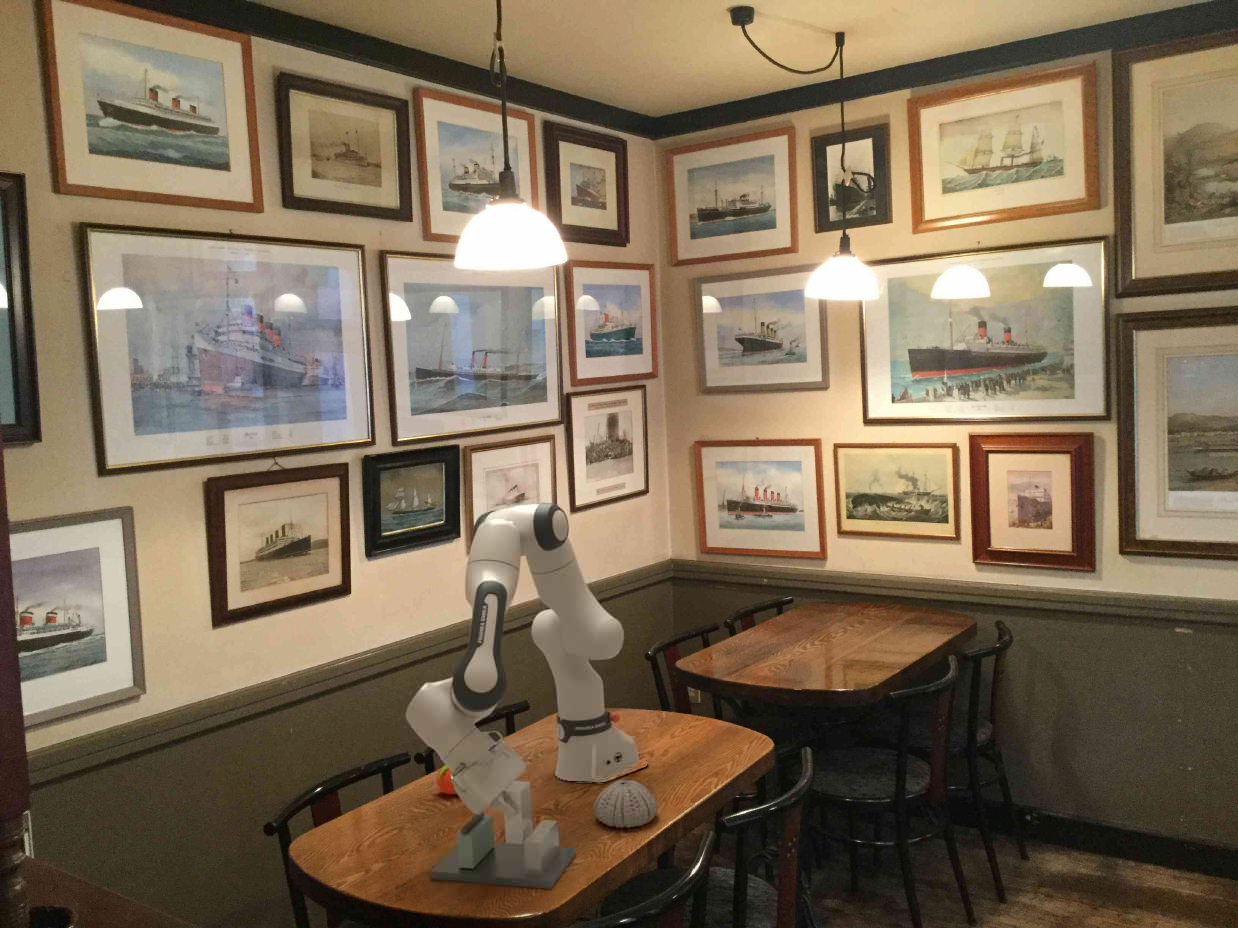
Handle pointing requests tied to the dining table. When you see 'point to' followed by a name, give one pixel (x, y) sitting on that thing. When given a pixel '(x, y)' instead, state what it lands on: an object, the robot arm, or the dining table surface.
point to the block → (522, 821)
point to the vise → (514, 862)
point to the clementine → (445, 781)
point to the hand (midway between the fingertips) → (521, 809)
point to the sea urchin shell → (625, 805)
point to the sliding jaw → (475, 840)
